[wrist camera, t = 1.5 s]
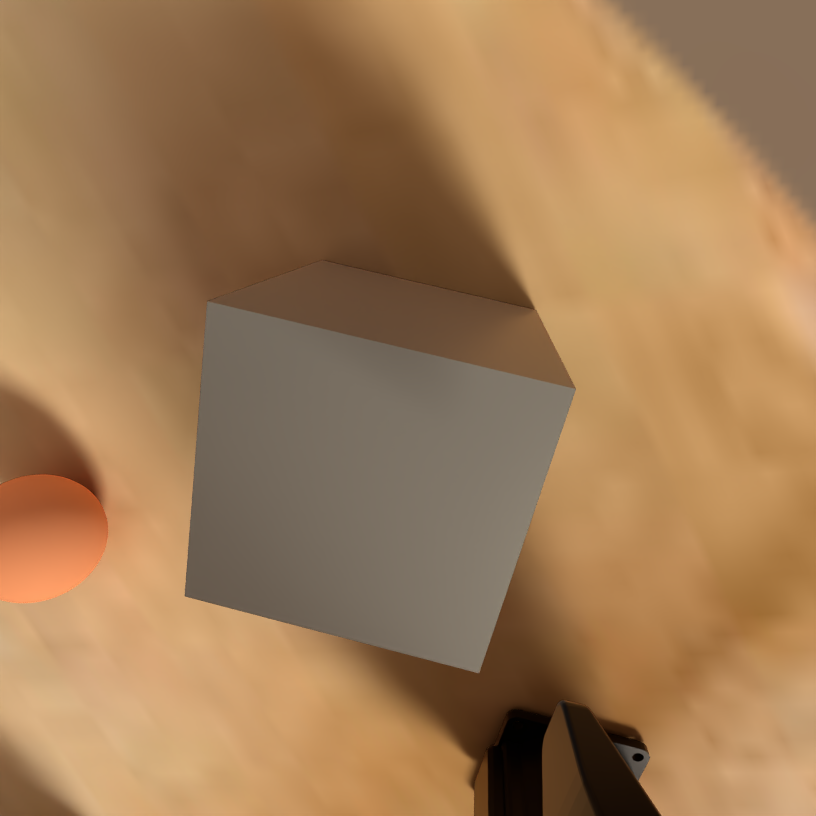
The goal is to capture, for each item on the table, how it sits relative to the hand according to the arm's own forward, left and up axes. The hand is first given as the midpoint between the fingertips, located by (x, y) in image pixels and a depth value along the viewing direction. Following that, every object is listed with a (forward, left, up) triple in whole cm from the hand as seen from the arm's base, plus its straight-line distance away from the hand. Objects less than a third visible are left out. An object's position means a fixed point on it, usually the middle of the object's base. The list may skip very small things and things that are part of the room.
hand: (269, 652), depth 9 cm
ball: (+13, +9, -11) cm, 19 cm away
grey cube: (0, 0, -13) cm, 13 cm away
